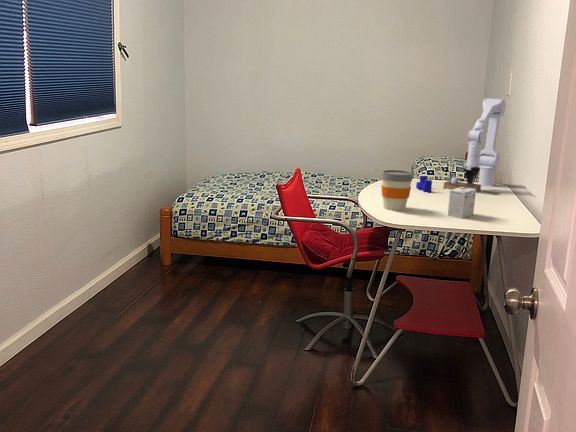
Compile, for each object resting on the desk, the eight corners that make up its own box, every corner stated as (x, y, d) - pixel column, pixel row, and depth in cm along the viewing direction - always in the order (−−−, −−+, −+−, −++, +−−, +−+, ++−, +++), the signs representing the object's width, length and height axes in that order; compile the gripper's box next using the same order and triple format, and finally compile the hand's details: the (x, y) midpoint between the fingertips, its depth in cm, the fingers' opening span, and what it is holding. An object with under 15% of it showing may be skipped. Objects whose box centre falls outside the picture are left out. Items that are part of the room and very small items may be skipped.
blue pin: (451, 187, 323) (452, 177, 322) (457, 188, 321) (458, 177, 320) (449, 188, 320) (451, 177, 319) (455, 189, 319) (457, 178, 318)
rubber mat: (484, 191, 317) (484, 190, 317) (501, 193, 314) (501, 192, 313) (480, 193, 311) (480, 193, 311) (497, 196, 307) (497, 195, 307)
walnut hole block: (448, 186, 326) (448, 180, 326) (480, 190, 318) (481, 184, 318) (443, 188, 319) (444, 182, 319) (476, 193, 312) (476, 187, 311)
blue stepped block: (416, 188, 320) (417, 176, 318) (425, 188, 320) (426, 176, 318) (421, 192, 308) (422, 180, 306) (430, 193, 308) (432, 180, 307)
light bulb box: (458, 212, 268) (461, 186, 266) (474, 214, 264) (476, 188, 262) (446, 215, 260) (449, 189, 258) (462, 218, 256) (465, 191, 254)
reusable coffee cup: (386, 211, 262) (389, 175, 259) (374, 205, 274) (377, 170, 271) (414, 211, 266) (418, 175, 262) (401, 204, 277) (404, 169, 274)
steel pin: (467, 190, 319) (469, 174, 317) (474, 190, 317) (475, 174, 316) (466, 191, 316) (467, 174, 315) (472, 191, 315) (473, 175, 313)
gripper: (469, 152, 321) (466, 180, 324) (461, 155, 309) (458, 183, 312) (484, 154, 318) (481, 181, 321) (476, 157, 305) (473, 185, 308)
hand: (470, 182), depth 316 cm, fingers open, 4 cm apart
